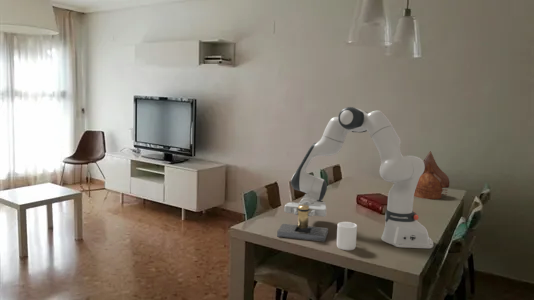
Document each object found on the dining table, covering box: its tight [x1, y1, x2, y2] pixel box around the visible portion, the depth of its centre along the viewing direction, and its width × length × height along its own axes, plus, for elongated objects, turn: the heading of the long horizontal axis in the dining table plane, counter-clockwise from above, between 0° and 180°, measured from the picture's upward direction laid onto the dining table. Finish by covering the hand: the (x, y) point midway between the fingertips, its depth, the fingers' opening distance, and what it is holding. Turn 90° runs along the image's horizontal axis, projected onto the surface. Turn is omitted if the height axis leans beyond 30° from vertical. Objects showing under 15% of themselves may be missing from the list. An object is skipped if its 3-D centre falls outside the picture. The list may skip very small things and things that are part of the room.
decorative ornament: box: [414, 151, 450, 200], centre depth 286 cm, size 26×19×30 cm
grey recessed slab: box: [276, 223, 329, 242], centre depth 205 cm, size 22×12×2 cm, turn 76°
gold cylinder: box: [296, 205, 310, 229], centre depth 204 cm, size 5×5×10 cm
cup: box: [336, 221, 358, 251], centre depth 192 cm, size 8×12×10 cm
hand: (303, 214), depth 203 cm, fingers closed on gold cylinder, 5 cm apart
